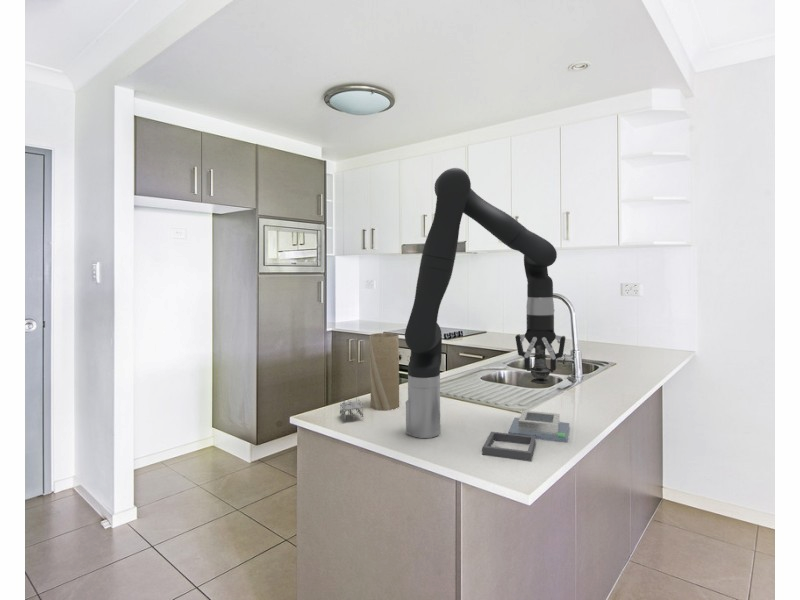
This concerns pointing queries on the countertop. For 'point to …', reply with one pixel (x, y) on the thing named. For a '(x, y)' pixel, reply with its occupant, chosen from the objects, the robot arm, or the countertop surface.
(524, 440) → the dark grey square frame
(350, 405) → the building frame
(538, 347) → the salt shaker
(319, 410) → the countertop surface
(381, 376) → the tube
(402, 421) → the countertop surface
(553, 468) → the countertop surface
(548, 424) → the port panel
